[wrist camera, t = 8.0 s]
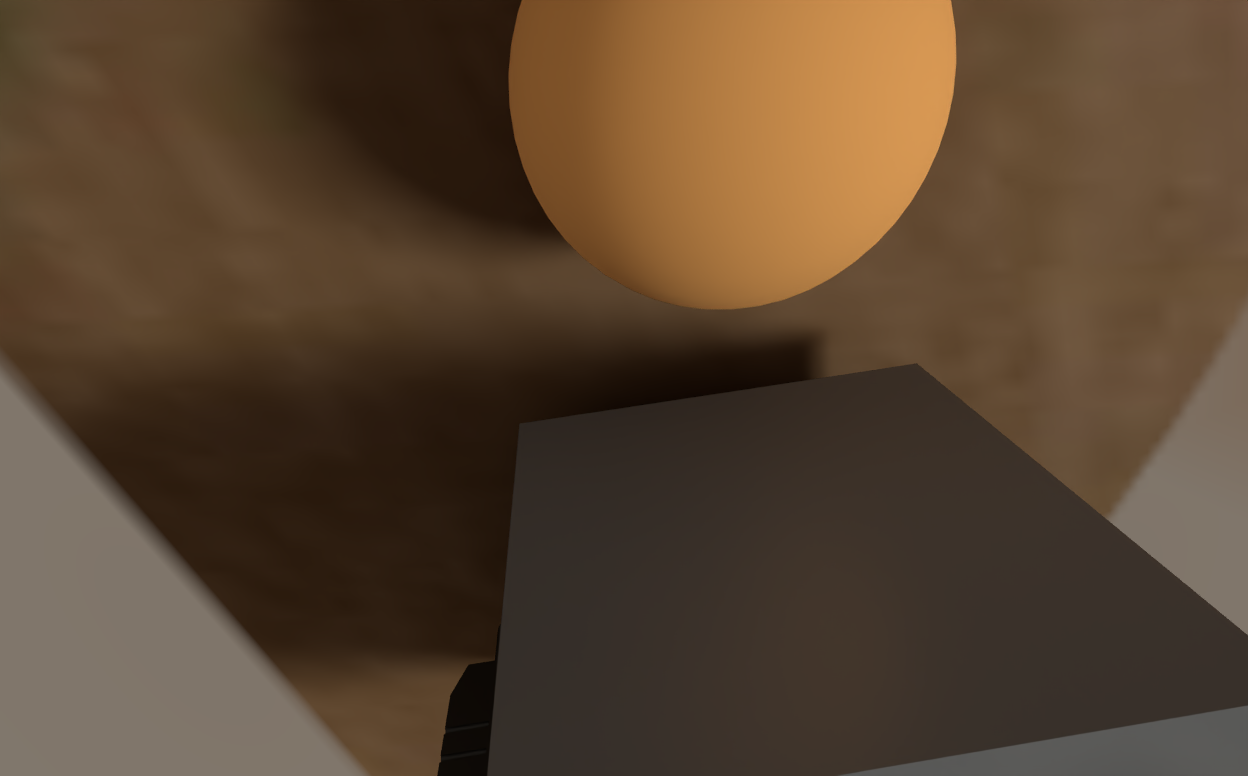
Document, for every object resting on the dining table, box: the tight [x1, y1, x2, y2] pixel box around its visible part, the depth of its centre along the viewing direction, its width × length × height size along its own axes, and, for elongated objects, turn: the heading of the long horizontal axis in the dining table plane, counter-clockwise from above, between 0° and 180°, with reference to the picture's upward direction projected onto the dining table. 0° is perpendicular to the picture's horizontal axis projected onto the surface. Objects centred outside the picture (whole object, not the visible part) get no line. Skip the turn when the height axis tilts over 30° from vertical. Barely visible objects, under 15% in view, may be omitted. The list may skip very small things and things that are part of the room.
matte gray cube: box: [487, 364, 1248, 776], centre depth 10 cm, size 7×7×7 cm
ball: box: [509, 0, 956, 309], centre depth 8 cm, size 5×5×5 cm
